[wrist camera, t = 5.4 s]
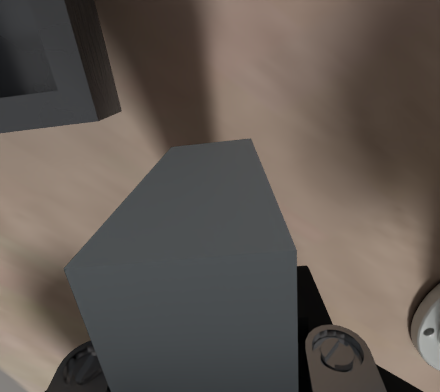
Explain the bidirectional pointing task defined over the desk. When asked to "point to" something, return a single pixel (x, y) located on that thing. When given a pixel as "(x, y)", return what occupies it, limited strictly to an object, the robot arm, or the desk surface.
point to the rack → (53, 65)
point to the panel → (193, 279)
